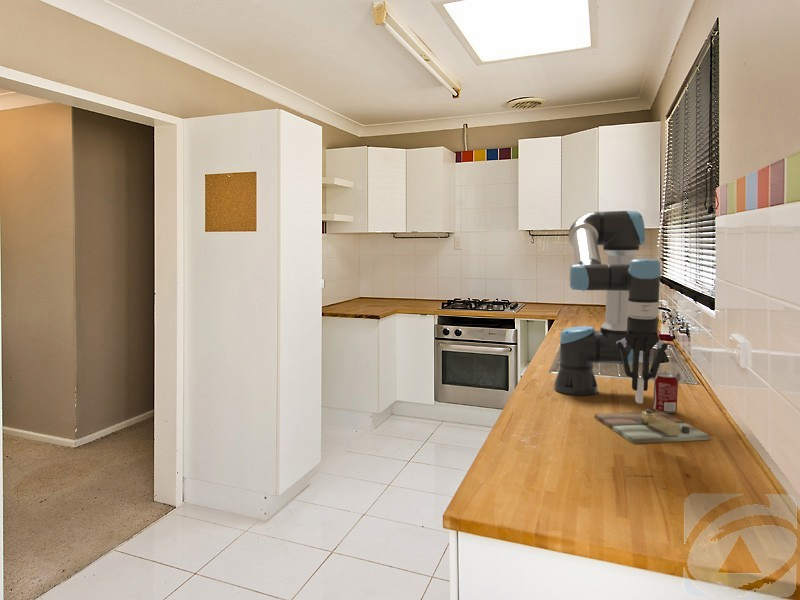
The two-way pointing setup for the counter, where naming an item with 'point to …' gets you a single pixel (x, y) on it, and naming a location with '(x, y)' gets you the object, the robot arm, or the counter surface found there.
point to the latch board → (647, 428)
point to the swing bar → (659, 422)
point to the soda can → (665, 393)
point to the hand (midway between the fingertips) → (639, 401)
